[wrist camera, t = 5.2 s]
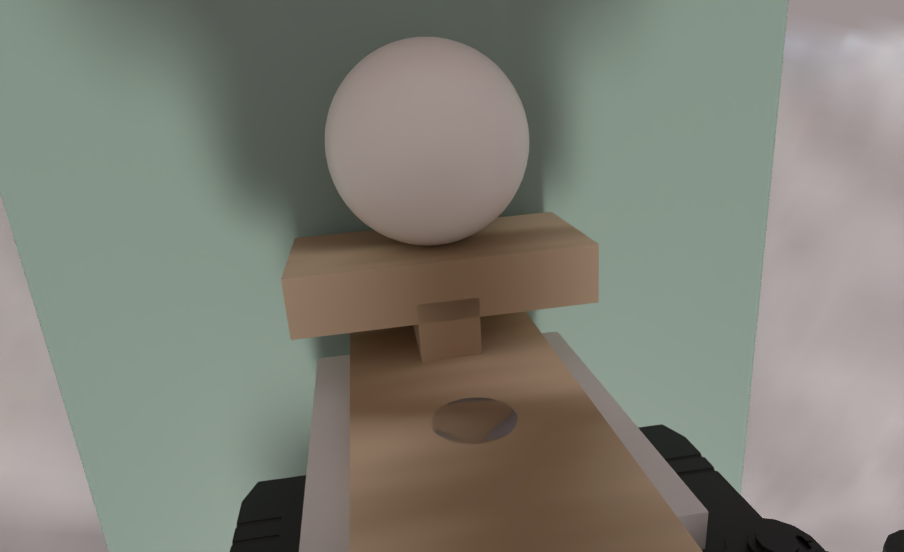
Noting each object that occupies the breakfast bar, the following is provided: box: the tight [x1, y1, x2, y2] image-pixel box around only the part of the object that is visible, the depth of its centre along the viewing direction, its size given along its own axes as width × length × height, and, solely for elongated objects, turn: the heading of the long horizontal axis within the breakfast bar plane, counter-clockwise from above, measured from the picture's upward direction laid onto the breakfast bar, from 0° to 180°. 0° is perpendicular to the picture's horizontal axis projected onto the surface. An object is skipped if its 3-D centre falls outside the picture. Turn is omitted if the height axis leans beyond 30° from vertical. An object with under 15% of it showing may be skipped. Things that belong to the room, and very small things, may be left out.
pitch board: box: [0, 0, 788, 552], centre depth 16 cm, size 18×20×1 cm
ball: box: [325, 37, 529, 246], centre depth 12 cm, size 4×4×4 cm
